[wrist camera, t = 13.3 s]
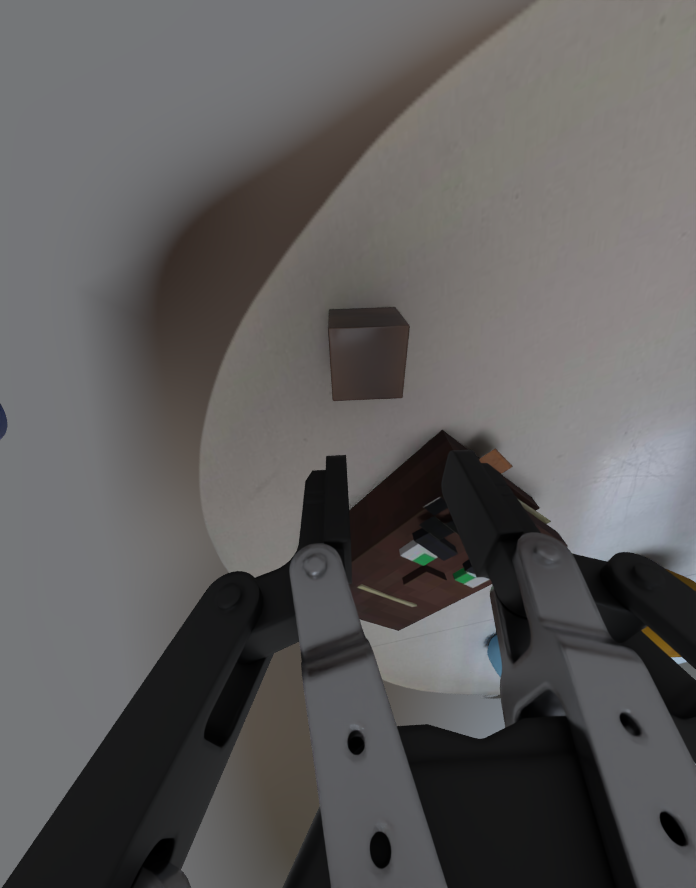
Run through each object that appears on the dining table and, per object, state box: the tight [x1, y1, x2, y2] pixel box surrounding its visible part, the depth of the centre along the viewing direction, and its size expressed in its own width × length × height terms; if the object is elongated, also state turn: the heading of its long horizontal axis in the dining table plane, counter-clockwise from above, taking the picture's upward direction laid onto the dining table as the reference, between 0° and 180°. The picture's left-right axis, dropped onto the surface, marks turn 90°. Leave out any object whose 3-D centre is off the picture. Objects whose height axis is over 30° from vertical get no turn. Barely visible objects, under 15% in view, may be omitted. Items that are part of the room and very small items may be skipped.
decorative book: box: [349, 430, 567, 631], centre depth 34 cm, size 19×8×30 cm
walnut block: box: [328, 307, 410, 401], centre depth 21 cm, size 5×5×5 cm
